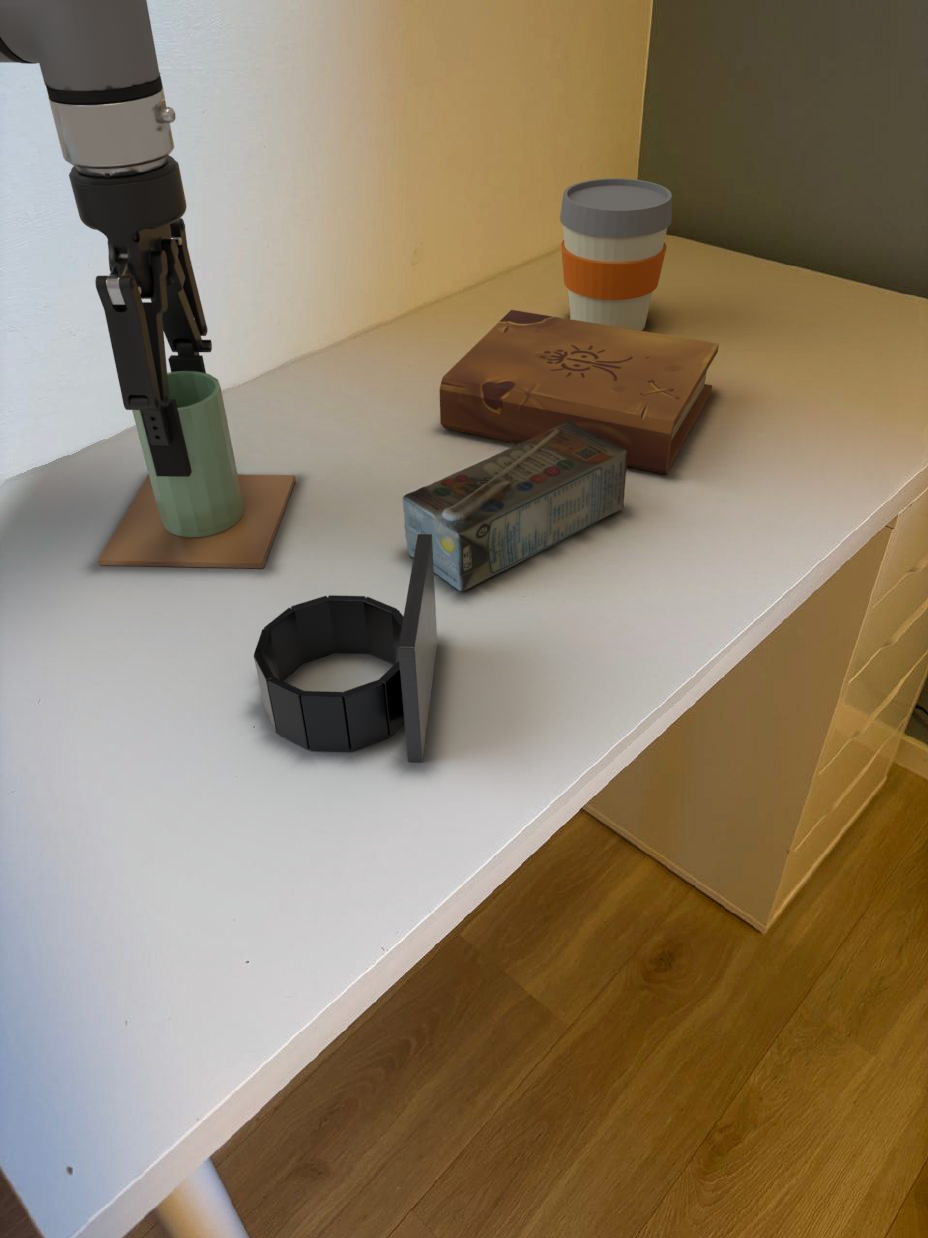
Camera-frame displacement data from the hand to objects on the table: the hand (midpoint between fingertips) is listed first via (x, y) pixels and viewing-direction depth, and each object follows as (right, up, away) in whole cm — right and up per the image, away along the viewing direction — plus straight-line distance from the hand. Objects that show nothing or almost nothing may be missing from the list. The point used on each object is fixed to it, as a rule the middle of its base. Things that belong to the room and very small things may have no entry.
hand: (187, 449), depth 84 cm
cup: (0, -5, +4) cm, 7 cm away
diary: (+35, +7, +19) cm, 41 cm away
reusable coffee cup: (+41, +21, +36) cm, 59 cm away
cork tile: (0, -6, +5) cm, 7 cm away
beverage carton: (+28, -7, +2) cm, 29 cm away
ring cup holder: (+15, -20, -13) cm, 28 cm away
